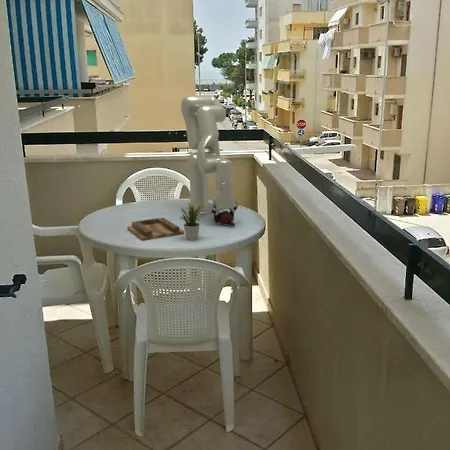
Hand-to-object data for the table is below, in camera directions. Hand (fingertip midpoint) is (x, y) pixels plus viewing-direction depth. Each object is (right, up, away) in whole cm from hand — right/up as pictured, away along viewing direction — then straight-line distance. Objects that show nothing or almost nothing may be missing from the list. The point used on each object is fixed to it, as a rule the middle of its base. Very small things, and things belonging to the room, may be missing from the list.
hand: (224, 221), depth 247 cm
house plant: (-13, -8, -22) cm, 27 cm away
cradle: (-32, -5, -12) cm, 34 cm away
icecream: (0, -2, 0) cm, 2 cm away
